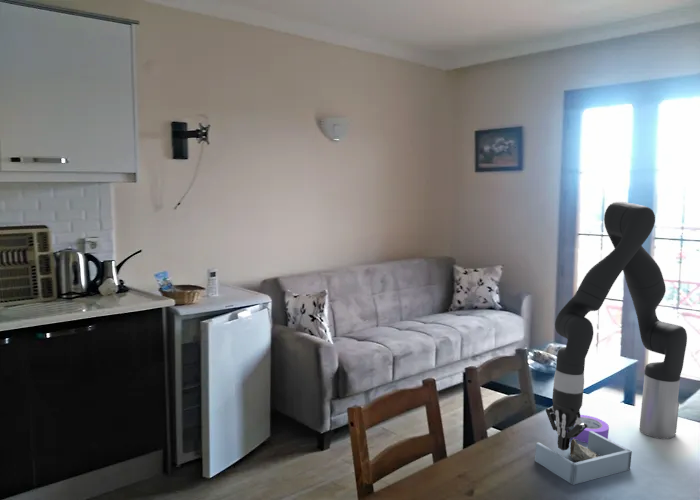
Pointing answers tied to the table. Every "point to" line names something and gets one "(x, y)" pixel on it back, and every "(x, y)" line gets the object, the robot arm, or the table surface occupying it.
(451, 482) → the table surface
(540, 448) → the box
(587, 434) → the masking tape
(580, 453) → the rock sample
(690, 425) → the table surface
